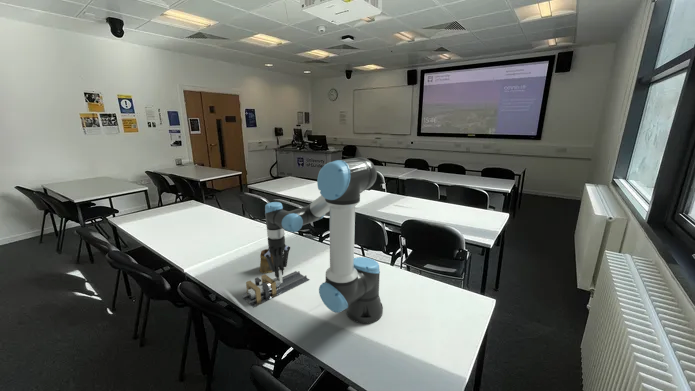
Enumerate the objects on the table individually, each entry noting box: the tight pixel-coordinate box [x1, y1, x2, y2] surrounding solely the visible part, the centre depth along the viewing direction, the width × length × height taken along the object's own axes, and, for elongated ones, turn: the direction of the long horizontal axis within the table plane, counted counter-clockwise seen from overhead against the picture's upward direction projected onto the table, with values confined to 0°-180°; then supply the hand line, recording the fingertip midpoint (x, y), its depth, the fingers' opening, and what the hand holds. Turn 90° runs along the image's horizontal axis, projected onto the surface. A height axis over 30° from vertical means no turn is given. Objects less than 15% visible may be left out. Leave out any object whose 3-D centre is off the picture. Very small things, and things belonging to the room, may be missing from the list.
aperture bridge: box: [254, 277, 269, 299], centre depth 127 cm, size 9×2×6 cm, turn 45°
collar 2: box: [260, 273, 277, 296], centre depth 129 cm, size 9×2×6 cm, turn 45°
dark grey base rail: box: [240, 270, 311, 308], centre depth 133 cm, size 12×30×2 cm, turn 135°
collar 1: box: [245, 280, 262, 304], centre depth 124 cm, size 9×2×6 cm, turn 45°
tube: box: [248, 277, 281, 299], centre depth 129 cm, size 14×4×4 cm, turn 135°
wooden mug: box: [259, 248, 274, 274], centre depth 146 cm, size 9×14×18 cm, turn 46°
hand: (279, 282), depth 134 cm, fingers closed
